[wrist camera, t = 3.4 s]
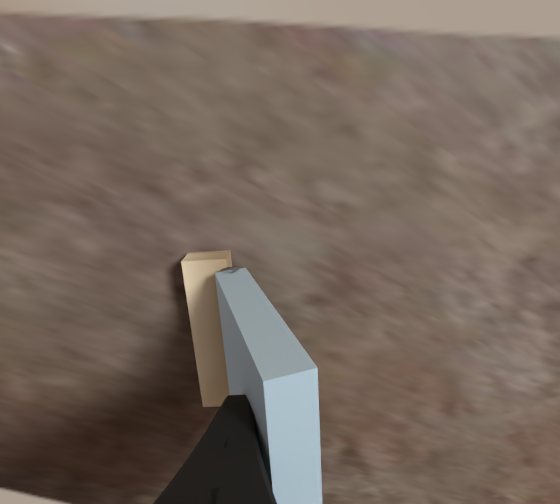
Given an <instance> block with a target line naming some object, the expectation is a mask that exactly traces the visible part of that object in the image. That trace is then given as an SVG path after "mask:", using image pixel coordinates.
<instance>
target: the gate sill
mask: <svg viewBox="0 0 560 504" xmlns="http://www.w3.org/2000/svg"><path fill="white" fill-rule="evenodd" d="M181 264H182V271H183V278H184V284H185V291H186V298H187V304H188V311H189V318H190V324H191V331H192V338H193V344H194V351H195V358H196V364H197V371H198V378H199V384H200V391H201V397H202V404H203V407H215V406H221V405H222V403H223V401H224V399H225V398H226V397H227V396H228V395H230V394H229V386H228V377H227V369H226V361H225V353H224V345H223V336H222V328H221V320H220V312H219V304H218V296H217V287H216V279H215V273H216V272H220V270H221V269H223V268H226V267H232V262H231V253H230V250H225V251H208V252H190V253H188V254H187V255H186V256H185V257H184V259H183V260H182V261H181Z"/></svg>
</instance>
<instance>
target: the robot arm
mask: <svg viewBox="0 0 560 504" xmlns="http://www.w3.org/2000/svg"><path fill="white" fill-rule="evenodd" d="M153 504H277V502H276V499H275V497H274V494H273V491H272V488H271V485H270V482H269V479H268V476H267V473H266V470H265V467H264V463H263V460H262V456H261V452H260V448H259V444H258V440H257V436H256V431H255V424H254V415H253V411H252V408H251V405H250V402H249V400H248V398H247V396H246V394H244V395H228V396H227V397H226V398H225V399H224V401H223V403H222V405H221V407H220V408H219V410H218V412H217V414H216V416H215V417H214V419H213V421H212V422H211V424H210V425H209V427H208V429H207V430H206V432H205V434H204V435H203V437H202V438H201V440H200V441H199V443H198V444H197V446H196V447H195V449H194V450H193V452H192V453H191V455H190V456H189V458H188V459H187V460H186V462H185V463H184V464H183V466H182V467H181V468H180V470H179V471H178V473H177V474H176V475H175V477H174V478H173V479H172V481H171V482H170V483H169V485H168V486H167V487H166V488H165V490H164V491H163V492H162V493H161V495H160V496H159V497H158V498H157V500H156V501H155V502H154V503H153Z"/></svg>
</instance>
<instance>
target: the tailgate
mask: <svg viewBox="0 0 560 504" xmlns="http://www.w3.org/2000/svg"><path fill="white" fill-rule="evenodd" d="M215 279H216V287H217V296H218V304H219V312H220V320H221V328H222V336H223V345H224V353H225V361H226V369H227V377H228V386H229V394H230V395H244V394H246V396H247V398H248V400H249V402H250V405H251V408H252V411H253V415H254V424H255V431H256V436H257V440H258V444H259V448H260V452H261V456H262V460H263V463H264V467H265V470H266V473H267V476H268V479H269V482H270V485H271V488H272V491H273V494H274V497H275V499H276V502H277V504H322V482H321V454H320V425H319V397H318V369H317V366H316V365H315V364H314V362H313V361H312V359H311V358H310V357H309V355H308V354H307V352H306V351H305V350H304V348H303V347H302V346H301V344H300V343H299V341H298V340H297V339H296V337H295V336H294V334H293V333H292V332H291V330H290V329H289V327H288V326H287V325H286V323H285V322H284V321H283V319H282V318H281V316H280V315H279V314H278V312H277V311H276V309H275V308H274V307H273V305H272V304H271V302H270V301H269V300H268V298H267V297H266V296H265V294H264V293H263V291H262V290H261V289H260V287H259V286H258V284H257V283H256V282H255V280H254V279H253V277H252V276H251V275H250V273H249V272H248V271H247V269H246V268H239V267H226V268H223V269H221V270H220V272H216V273H215Z"/></svg>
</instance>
